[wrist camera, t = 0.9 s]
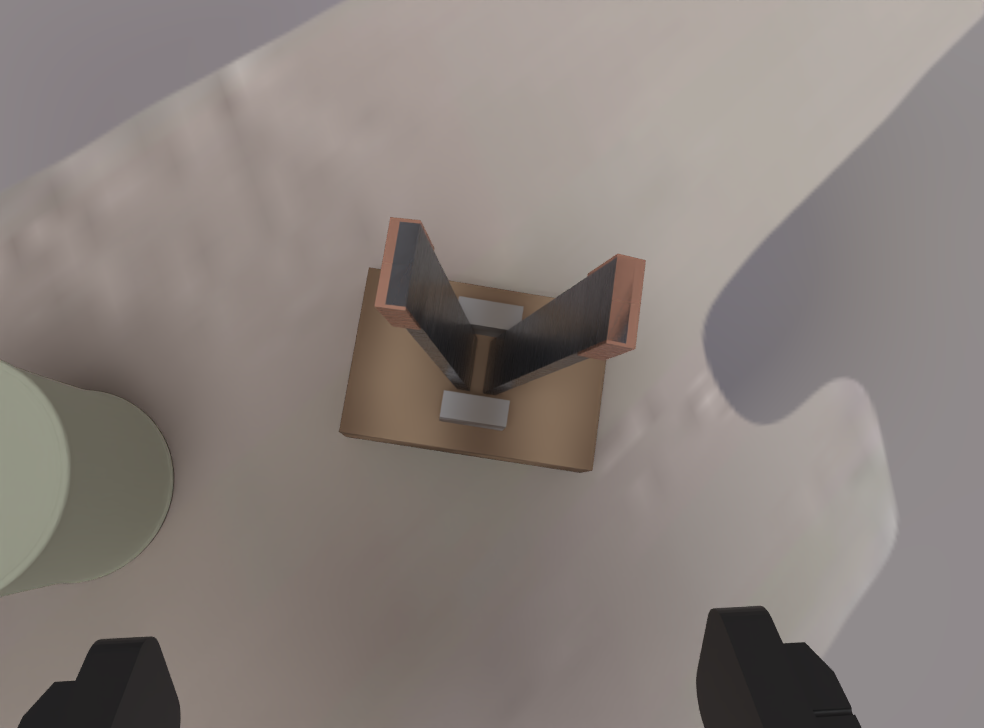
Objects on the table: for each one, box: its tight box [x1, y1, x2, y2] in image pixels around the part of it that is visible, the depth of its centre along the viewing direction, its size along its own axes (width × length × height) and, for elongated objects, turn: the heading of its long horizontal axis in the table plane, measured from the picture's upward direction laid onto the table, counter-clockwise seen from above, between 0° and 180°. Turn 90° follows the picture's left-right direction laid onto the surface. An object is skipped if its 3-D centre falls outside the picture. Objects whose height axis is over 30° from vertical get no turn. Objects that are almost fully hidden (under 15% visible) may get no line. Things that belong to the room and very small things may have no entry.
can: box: [0, 360, 173, 597], centre depth 33 cm, size 9×9×12 cm
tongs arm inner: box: [374, 217, 478, 391], centre depth 30 cm, size 1×3×15 cm, turn 172°
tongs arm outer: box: [483, 254, 646, 395], centre depth 30 cm, size 1×3×15 cm, turn 171°
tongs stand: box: [339, 268, 606, 473], centre depth 38 cm, size 12×8×5 cm, turn 82°
